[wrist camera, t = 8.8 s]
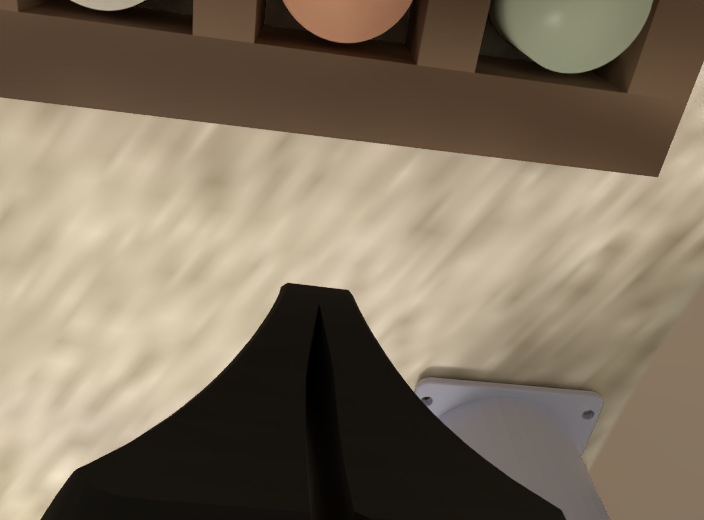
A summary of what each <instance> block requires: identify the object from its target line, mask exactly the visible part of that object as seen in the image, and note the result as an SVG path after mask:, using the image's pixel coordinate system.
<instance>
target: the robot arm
mask: <svg viewBox="0 0 704 520" xmlns="http://www.w3.org/2000/svg"><path fill="white" fill-rule="evenodd" d="M424 397H430V398H429V399H427V400H423V399H422V398H424ZM602 407H603V400H602V398H601V396H600V395H599V394H598V393H597V392H593V391H583V390H571V389H560V388H548V387H537V386H525V385H514V384H502V383H491V382H479V381H468V380H456V379H445V378H433V377H426V378H423V379H421V380H420V381H418V383H417V385H416V388H415V392H413V391H412V389H411V388H410V387H409V386H408V384H407V383H406V382H405V380H404V379H403V378H402V376H401V375H400V374H399V372H398V371H397V370H396V368H395V367H394V366H393V364H392V363H391V361H390V360H389V358H388V357H387V355H386V354H385V352H384V351H383V349H382V348H381V346H380V345H379V343H378V341H377V340H376V338H375V337H374V335H373V333H372V332H371V330H370V328H369V326H368V325H367V323H366V321H365V319H364V317H363V316H362V314H361V312H360V310H359V308H358V306H357V304H356V302H355V299H354V297H353V295H352V294H351V293H350V291H349V290H343V289H335V288H326V287H318V286H310V285H301V284H293V283H287V284H285V285H284V286H282V287H281V289H280V293H279V295H278V297H277V300H276V302H275V303H274V305H273V307H272V309H271V310H270V312H269V314H268V315H267V317H266V318H265V320H264V321H263V323H262V324H261V325H260V327H259V328H258V330H257V331H256V333H255V334H254V335H253V337H252V338H251V339H250V341H249V342H248V343H247V344H246V345H245V346H244V348H243V349H242V350H241V351H240V352H239V354H238V355H237V356H236V357H235V358H234V359H233V361H232V362H231V363H230V364H229V365H228V366H227V367H226V368H225V369H224V370H223V371H222V372H221V373H220V374H219V375H218V376H217V377H216V378H215V379H214V380H213V381H212V382H211V383H210V384H209V385H208V386H207V387H205V388H204V389H203V390H202V391H201V392H200V393H198V394H197V395H196V396H195V397H194V398H192V399H191V400H190V401H189V402H188V403H186V404H185V405H184V406H183V407H181V408H180V409H179V410H178V411H176V412H175V413H174V414H172V415H171V416H169V417H168V418H167V419H165V420H164V421H162V422H161V423H159V424H158V425H156V426H154V427H153V428H151V429H150V430H148V431H147V432H145V433H144V434H142V435H141V436H139V437H138V438H136V439H135V440H133V441H131V442H130V443H128V444H126V445H124V446H122V447H120V448H119V449H117V450H115V451H113V452H111V453H109V454H107V455H105V456H103V457H101V458H99V459H97V460H95V461H93V462H91V463H89V464H87V465H85V466H82V467H80V468H78V469H76V470H75V471H74V472H73V473H72V475H71V476H70V477H69V478H68V480H67V481H66V483H65V484H64V485H63V487H62V488H61V489H60V491H59V492H58V494H57V495H56V496H55V498H54V500H53V501H52V503H51V504H50V506H49V507H48V509H47V510H46V512H45V513H44V515H43V516H42V518H41V520H610V518H609V516H608V513H607V511H606V509H605V507H604V505H603V503H602V501H601V498H600V496H599V494H598V492H597V490H596V487H595V485H594V483H593V481H592V479H591V477H590V474H589V472H588V470H587V468H586V466H585V464H584V461H583V459H582V457H581V456H582V454H583V451H584V449H585V447H586V444H587V442H588V440H589V437H590V435H591V433H592V430H593V428H594V426H595V423H596V421H597V419H598V416H599V414H600V412H601V409H602ZM587 410H590V411H589V412H587V413H584V412H585V411H587Z"/></svg>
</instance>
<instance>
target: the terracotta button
mask: <svg viewBox="0 0 704 520" xmlns="http://www.w3.org/2000/svg"><path fill="white" fill-rule="evenodd" d="M283 1H284V3H285V5H286V7H287V9H288V10H289V11H290V13H291V14H292V16H293V17H294V18H295V19H296V20H297V21H298V22H299V23H300V24H301V25H302V26H303V27H304V28H306V29H307V30H309V31H310V32H311V33H313V34H315V35H317V36H319V37H321V38H324V39H327V40H329V41H334V42H339V43H357V42H362V41H366V40H369V39H372V38H375V37H377V36H379V35H381V34H383V33H384V32H386V31H387V30H388V29H390V28H391V27H392V26H393V25H395V24H396V23H397V22H398V21H399V20H400V18H401V17H402V16H403V15H404V14H405V12H406V11H407V9H408V8H409V6H410V4H411V3H412V1H413V0H283Z"/></svg>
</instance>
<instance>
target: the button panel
mask: <svg viewBox="0 0 704 520" xmlns="http://www.w3.org/2000/svg"><path fill="white" fill-rule="evenodd" d="M490 2H491V0H413V2H412V8H411V14H410V20H409V26H408V32H407V38H406V43H405V44H401V43H393V42H386V41H379V40H371V39H369V40H366V41H362V42H357V43H339V42H334V41H329V40H327V39H324V38H321V37H319V36H317V35H315V34H313V33H311V32H310V31H306V30H298V29H291V28H284V27H276V26H269V25H264V18H265V3H266V0H193V15H189V14H182V13H174V12H167V11H160V10H152V9H145V8H138V7H129V8H125V9H121V10H111V11H107V10H97V9H92V8H88V7H85V6H82V5H79V4H77V3H75V2H73V1H71V0H0V97H3V98H11V99H19V100H27V101H35V102H44V103H52V104H60V105H68V106H77V107H85V108H93V109H101V110H110V111H118V112H126V113H134V114H142V115H151V116H159V117H167V118H175V119H184V120H192V121H200V122H208V123H217V124H225V125H233V126H241V127H249V128H258V129H266V130H274V131H282V132H291V133H299V134H307V135H315V136H323V137H332V138H340V139H348V140H356V141H365V142H373V143H381V144H389V145H398V146H406V147H414V148H422V149H430V150H439V151H447V152H455V153H463V154H472V155H480V156H488V157H496V158H505V159H513V160H521V161H529V162H537V163H546V164H554V165H562V166H570V167H579V168H587V169H595V170H603V171H611V172H620V173H628V174H636V175H644V176H653V177H658V175H659V173H660V170H661V168H662V165H663V163H664V160H665V158H666V155H667V153H668V150H669V148H670V145H671V143H672V140H673V137H674V135H675V132H676V130H677V127H678V125H679V122H680V120H681V117H682V115H683V112H684V110H685V107H686V105H687V102H688V99H689V97H690V94H691V92H692V89H693V87H694V84H695V82H696V79H697V77H698V74H699V72H700V69H701V67H702V64H703V62H704V0H653V3H652V6H651V10H650V13H649V15H648V18H647V20H646V22H645V24H644V26H643V28H642V30H641V31H640V33H639V34H638V35H637V37H636V38H635V40H634V41H633V42H632V43H631V44H630V45H629V47H627V48H626V49H625V50H624V51H623V52H622V53H621V54H620V55H619V56H617V57H616V58H615V59H613V60H612V61H610V62H608V63H607V64H605V65H603V66H601V67H598V68H596V69H593V70H590V71H586V72H581V73H560V72H555V71H552V70H549V69H547V68H544V67H543V66H541V65H539V64H538V63H536V62H532V61H525V60H517V59H510V58H503V57H495V56H488V55H481V54H479V51H480V47H481V42H482V38H483V33H484V29H485V24H486V20H487V16H488V11H489V7H490Z"/></svg>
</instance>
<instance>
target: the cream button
mask: <svg viewBox="0 0 704 520" xmlns="http://www.w3.org/2000/svg"><path fill="white" fill-rule="evenodd" d="M71 1H73V2H75V3H77V4H79V5H82V6H85V7H88V8H92V9H97V10H107V11H111V10H121V9H125V8H129V7H132V6H134V5H137V4H139V3H141V2H143V1H145V0H71Z"/></svg>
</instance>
